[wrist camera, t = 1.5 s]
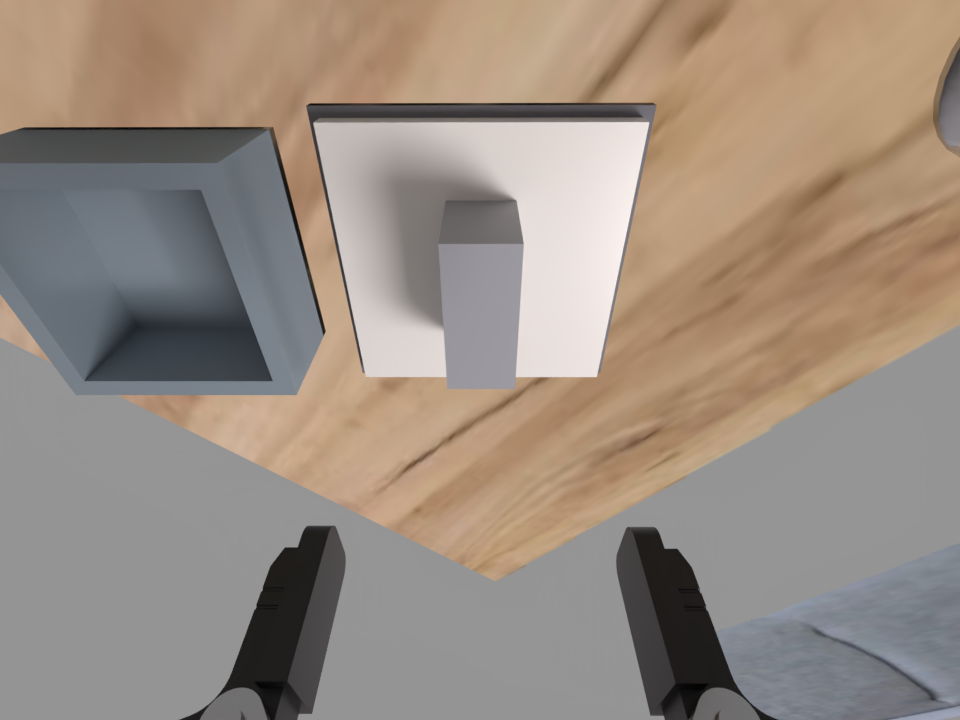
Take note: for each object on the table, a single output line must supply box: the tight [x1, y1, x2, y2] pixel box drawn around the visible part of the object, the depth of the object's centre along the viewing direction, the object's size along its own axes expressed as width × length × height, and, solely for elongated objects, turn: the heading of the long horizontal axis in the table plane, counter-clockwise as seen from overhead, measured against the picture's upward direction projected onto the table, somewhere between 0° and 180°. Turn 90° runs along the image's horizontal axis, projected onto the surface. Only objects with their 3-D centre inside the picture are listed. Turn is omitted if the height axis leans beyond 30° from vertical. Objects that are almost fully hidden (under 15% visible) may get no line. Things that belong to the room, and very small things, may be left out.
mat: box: [306, 103, 657, 373], centre depth 26 cm, size 16×16×1 cm
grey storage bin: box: [0, 127, 326, 395], centre depth 24 cm, size 12×12×6 cm
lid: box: [313, 117, 649, 389], centre depth 24 cm, size 15×15×6 cm
